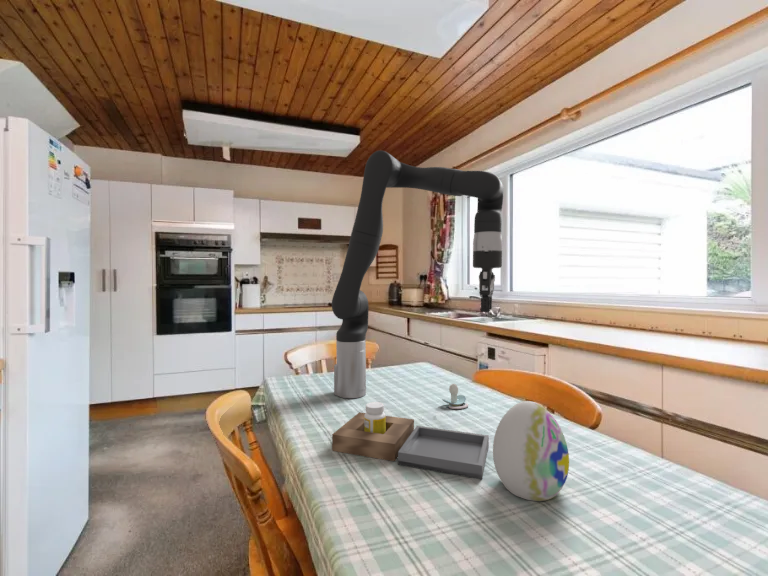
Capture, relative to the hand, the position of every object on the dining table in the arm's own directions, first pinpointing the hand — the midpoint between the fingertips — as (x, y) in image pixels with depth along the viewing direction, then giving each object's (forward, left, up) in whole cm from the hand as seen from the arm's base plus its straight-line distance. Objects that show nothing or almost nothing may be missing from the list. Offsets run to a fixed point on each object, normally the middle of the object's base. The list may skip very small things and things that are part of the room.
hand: (486, 310), depth 100 cm
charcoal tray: (-6, -28, -28) cm, 40 cm away
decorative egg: (+10, -35, -28) cm, 46 cm away
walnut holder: (-22, -27, -28) cm, 44 cm away
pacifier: (-9, +3, -28) cm, 30 cm away
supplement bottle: (-22, -27, -28) cm, 44 cm away
